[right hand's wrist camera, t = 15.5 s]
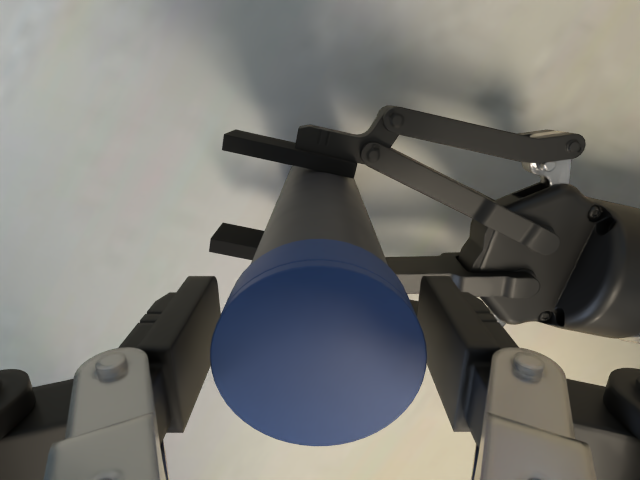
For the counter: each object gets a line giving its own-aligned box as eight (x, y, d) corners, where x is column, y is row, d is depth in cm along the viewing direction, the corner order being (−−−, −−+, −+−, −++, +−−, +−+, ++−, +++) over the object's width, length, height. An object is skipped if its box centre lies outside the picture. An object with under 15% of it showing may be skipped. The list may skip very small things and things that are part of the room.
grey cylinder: (360, 205, 28) (430, 399, 10) (299, 223, 28) (261, 439, 11) (343, 141, 26) (388, 238, 8) (278, 162, 27) (193, 293, 9)
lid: (379, 210, 9) (391, 234, 8) (431, 370, 11) (450, 416, 9) (194, 274, 10) (170, 308, 8) (269, 416, 12) (261, 467, 10)
